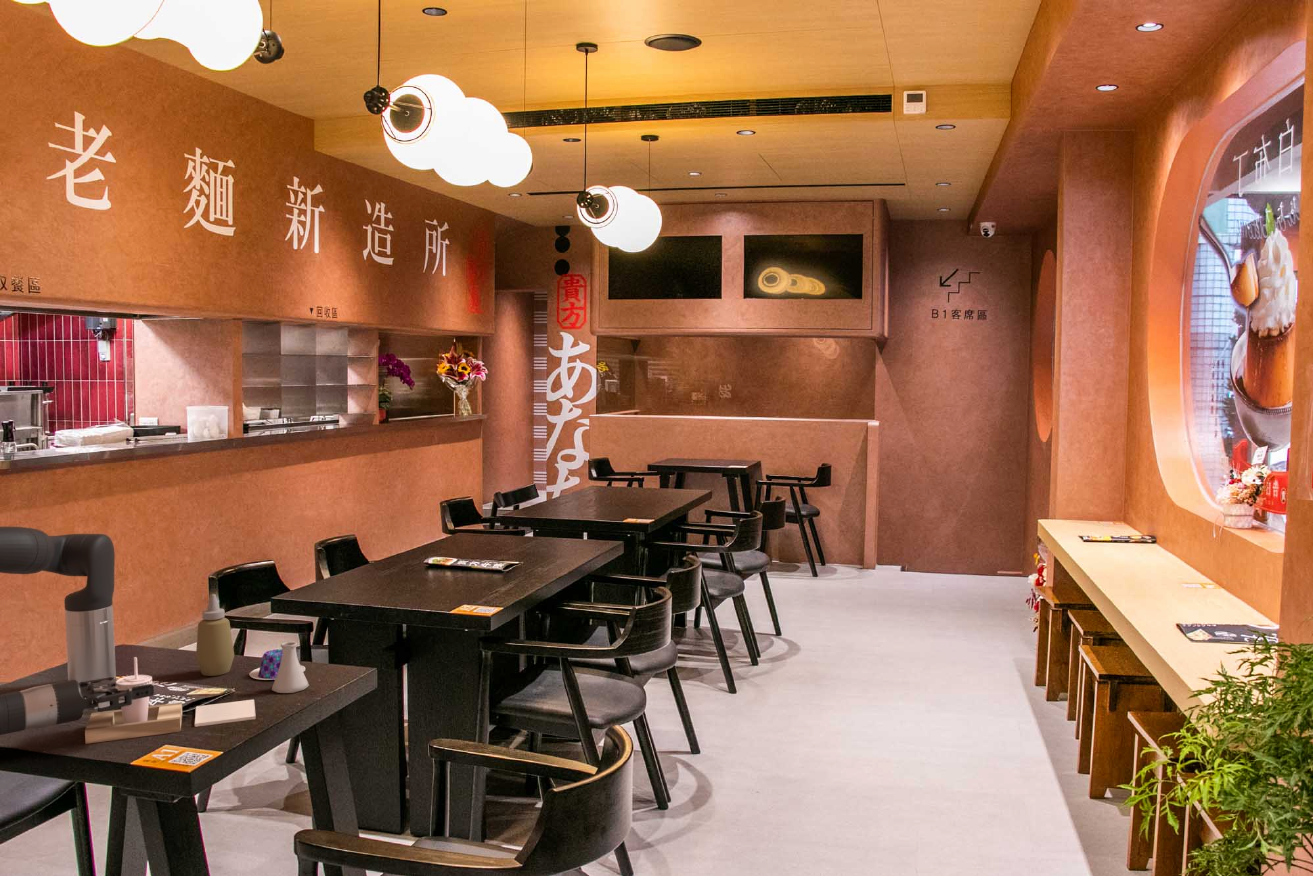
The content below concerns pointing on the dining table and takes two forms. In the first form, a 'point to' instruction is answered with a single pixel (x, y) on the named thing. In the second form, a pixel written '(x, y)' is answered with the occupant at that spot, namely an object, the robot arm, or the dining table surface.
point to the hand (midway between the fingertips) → (147, 685)
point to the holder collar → (133, 724)
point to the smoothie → (138, 706)
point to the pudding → (269, 665)
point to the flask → (289, 671)
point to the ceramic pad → (225, 713)
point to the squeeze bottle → (214, 641)
